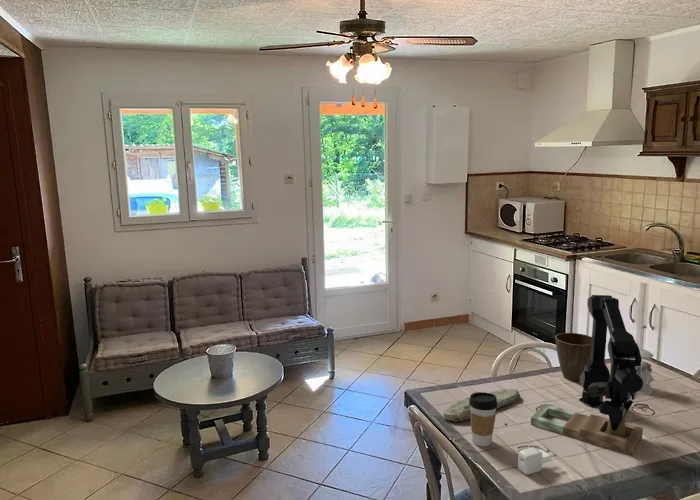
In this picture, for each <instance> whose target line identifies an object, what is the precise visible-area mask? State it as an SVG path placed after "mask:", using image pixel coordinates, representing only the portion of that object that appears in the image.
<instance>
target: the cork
mask: <svg viewBox="0 0 700 500" xmlns="http://www.w3.org/2000/svg"><path fill="white" fill-rule="evenodd" d="M625 412H626V414H625V416H624V418H623V419H622V421H621V423H620V425H619V426H618V428H617V430H616V431H614V430H612V427H611V423H610V419H609V418H608V419H609V422H608V426H607V431H605V433H608V434H611V435H615V436H618V437H622V438H625V439H627V437H626V431H625V423H626V418H627V417H628V412H627V411H626V409H625Z"/></svg>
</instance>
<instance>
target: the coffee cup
mask: <svg viewBox="0 0 700 500" xmlns="http://www.w3.org/2000/svg"><path fill="white" fill-rule="evenodd" d="M469 396H470V397H469V398H470V399H469V405H470V418H471V419H470V428H471V429H470V430H471V431H470V432H471V442H472V443H473V444H474V445H476V446H477V447H489V446H491V445H492V442H493V433H494V428H495V420H496V414H497V411H496V408H497V398H496V396H495V395H494V394H491V392H486V391H485V392H483V391H482V392H481V391H479V392H478V391H477V392H473V393H471V394H470V395H469ZM497 409H498V408H497Z"/></svg>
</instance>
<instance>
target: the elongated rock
mask: <svg viewBox="0 0 700 500" xmlns="http://www.w3.org/2000/svg"><path fill="white" fill-rule="evenodd" d="M490 393H491V394H494V395H495V396H496V398H497V408H496V409H500V408H501V407H504V406H507V405H510V404H511V405H512V404H513V403H515V402H516V401H518V400H519V399H521V393H520V392H519V391H518V389H514V388H501V389H498V390H496V391H491V392H490ZM469 399H470V397H466V398H463V399H462V400H460V401H457V402H456V403H454V404H451V405H450V406H449V407H446V409H444V411H443V417H444V419H445V420H448V421H450V422H451V421H452V422H454V423H456V422H463V421H469V420H471V418H470V405H469Z"/></svg>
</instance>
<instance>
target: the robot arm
mask: <svg viewBox="0 0 700 500" xmlns="http://www.w3.org/2000/svg"><path fill="white" fill-rule="evenodd" d="M586 302H587V308H588V312H589V314H590V316H591V318H592V330H591V337H592V341H591V355H590V359H589V360H588V362H587V363H586V364H585V367H584V371H583V372H582V374H581V375H580V381H579V384H580V385H581V387H582V388H583V389H582V392H581V393H582V394H581V397H580V398H578V400H579V401H580V402H582V403H584V404H586V405H587V406H589V407H592V408H596V407H599V413H600V414H602V415H606V416H608V419H610V423H611V427H612V430H614V431H616V430H617V428H618V426H619V425H620V423H621V421H622V419H623V418H624V416H625V414H626V412H625V409H626V411H627V413H628V411H629V410H630V408H631V407H632V405H633V403H634V400H635V399H636V397H637V393H636V392H638V391H640V390H641V388H642V387H643V381H642V378H641V377H640V376H639V375H638V374H637V370H636V369H635V366H641V363H640V362H641V361H643V358H641V355H640V350H639V349H640V347H639V345H638V343H637V342H636V339H635V338H634V335H633V334H631V333H630V332H629V331H627V329H626V325H625V323H624V319H623V316H622V314H621V311H620V307H619V306H620V300H619V299H618V298H616V297H613V296H612V295H609V294H608V295H607V294H605V295H604V294H591V296H590V297H588V298H587V301H586ZM607 333H609V340H608V342H607V335H608V334H607ZM606 346H607V348H606ZM606 349H607V353H608V357H609V361H610V370H609V367H608V366H607V365H606V361H605V360H606ZM604 399H607V400H604ZM630 399H631V400H630Z"/></svg>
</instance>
